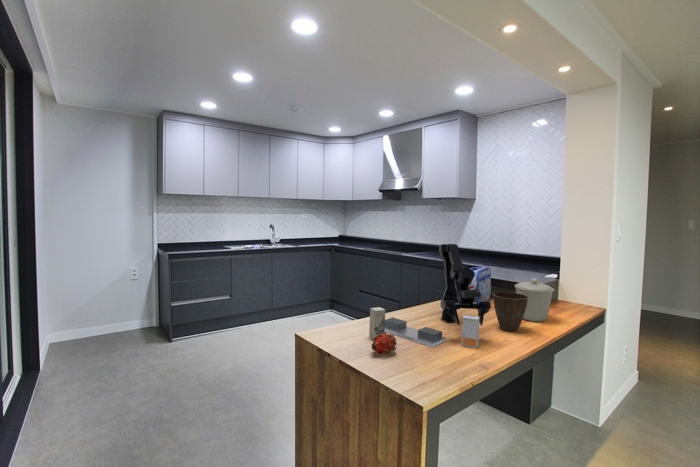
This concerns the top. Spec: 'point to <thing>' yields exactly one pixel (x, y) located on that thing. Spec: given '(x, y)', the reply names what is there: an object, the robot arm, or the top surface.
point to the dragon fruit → (384, 343)
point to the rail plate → (414, 332)
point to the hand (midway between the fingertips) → (470, 324)
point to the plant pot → (509, 309)
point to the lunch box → (481, 283)
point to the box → (376, 322)
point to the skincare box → (470, 331)
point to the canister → (535, 299)
